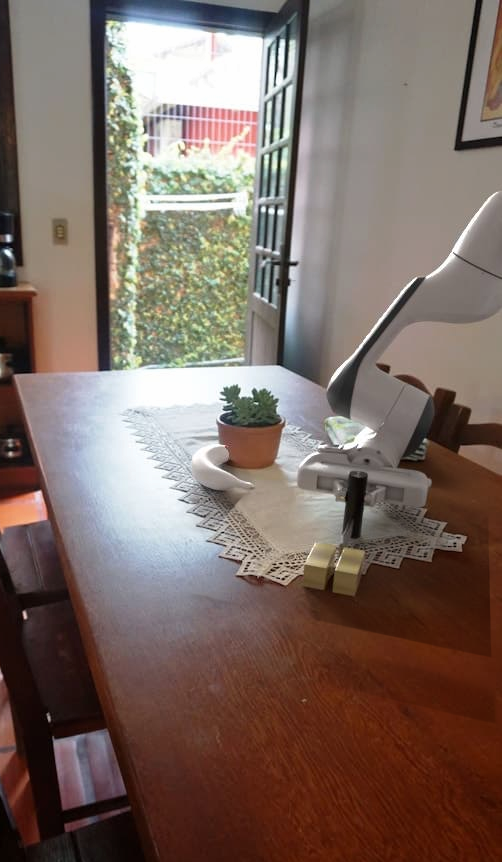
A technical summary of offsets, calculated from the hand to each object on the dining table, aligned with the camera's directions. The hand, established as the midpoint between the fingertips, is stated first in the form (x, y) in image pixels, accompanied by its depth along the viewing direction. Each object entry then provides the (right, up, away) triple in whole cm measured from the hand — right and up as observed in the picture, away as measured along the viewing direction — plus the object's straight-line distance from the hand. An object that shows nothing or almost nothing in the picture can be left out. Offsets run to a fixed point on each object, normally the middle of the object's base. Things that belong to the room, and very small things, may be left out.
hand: (354, 499), depth 102 cm
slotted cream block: (-3, -10, -4) cm, 11 cm away
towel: (+13, +11, +47) cm, 50 cm away
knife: (-1, -7, -1) cm, 7 cm away
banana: (-18, +4, +28) cm, 34 cm away
